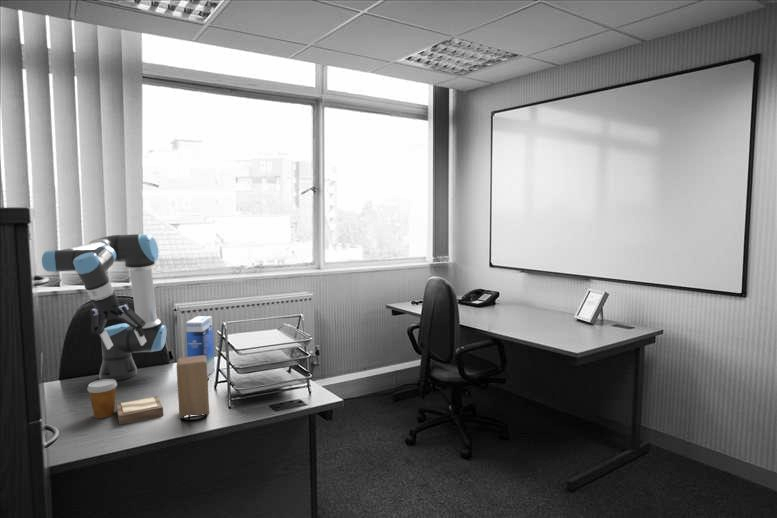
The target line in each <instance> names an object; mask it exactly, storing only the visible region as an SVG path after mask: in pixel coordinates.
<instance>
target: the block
mask: <svg viewBox="0 0 777 518" xmlns="http://www.w3.org/2000/svg"><path fill="white" fill-rule="evenodd" d="M208 377H209V376H208ZM208 377H207V360H206V356H204V355H201V356H192V357H187V356H186V357H185V356H183V357H179V358H178V359H177V361H176V378H177V380H176V381H177V399H178V415H179V418H180V419H182V418H181V417H182V416H186V415H188V414H191V415H202V414H204V413H205V414H206V415H205V416H208V415H209V413H210V403H209V402H210V401H209V380H208Z"/></svg>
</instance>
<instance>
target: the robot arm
mask: <svg viewBox="0 0 777 518" xmlns="http://www.w3.org/2000/svg"><path fill="white" fill-rule="evenodd" d="M158 259H159V247H158V244H157V241H156V239H155V238H154V236H153V235H151V234H143V233H136V234H112V235H108V236H102V237H100V238H96V239H93V240H90V241H89V243H86V244H81V245H77V246H73V247H69V248H64V249H59V250H58V249H57V250H55V249H53V250H46V251H44V253H42V256H41V265H42V267H43V269H44V270H45V272H55V273H57V272H76V273H77V275H78V277H79V278H80V281H81V282H82V284H83V286H84V288H85V291H86V293H87V294H88V297H89V298H90V300H91V303H92V304H93V306H94V307H93V308H92V309H91V310H90V311H89V314H90V320H91V321H90V322H91V323H90V332H91V334H96V335H98V337H99V339H100V341H101V343H100V344H101V353H102V354H101V355H102V363H101V366H100V369H99V370H100V371H99V373H98V374H99V376H98V377H99V378H98V379H99V380H103V379H114V380H115V381H116V382H117V381H122V380H126V379H129V378H133V377H134V376H136V375H137V374H138V367H137V366H136V364H135V363H136V362H135V361H134V359H133V355H132V354H134V353H153V352H158V351H162V350H163V348H164V347H165V344H166V340H167V333H168V332H167V326H166V325H165V324H162V320H161V319H160V318H158V316H157V308H156V306H157V305H156V300H155V299H156V298H155V289H154V280H153V279H154V278H153V266H155V264H156V263H155V261H157V260H158ZM115 262H118V263H121V262H122V263H123V262H124V265H125V268H127V269H128V270H129V273H130V281H131V282H130V283H131V289H132V297H133V307H134V310H133V309H132V308H131V307H130V305H129V304H128V303H125V304H123V305H120V304H119V299H118V296H117V294H116V292H115V291H114V288H113V286H112V284H111V282H110V280H109V278H108V275H107V274H106V272H107V271H108V270H109V269H110V268H111V267H112V266H113V265H114V263H115ZM99 315H100V316H101V317H99ZM99 318H100V321H99ZM109 320H118V321H122V322H123V323H118V324H114V325H111V326H107V327H106V325H107V322H108V321H109Z"/></svg>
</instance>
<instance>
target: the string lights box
mask: <svg viewBox="0 0 777 518" xmlns="http://www.w3.org/2000/svg"><path fill="white" fill-rule="evenodd" d="M213 329H214V328H213V316H212V315H207V316H206V315H204V316H203V315H202V316H201V315H198V316H195V317H193V318H192V319H190V320H188V321H186V322H185V334H186V354H187V355H186V357H192V356H201V355H204V356H206V360H207V376H208V375H209V374H210V375H211V374H212V373H213V372H214V371H215V370H216V369H215V368H216V367H215V352H214V349H215V347H214V331H213ZM210 375H209V376H210ZM209 376H208V377H209Z"/></svg>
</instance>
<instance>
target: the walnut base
mask: <svg viewBox="0 0 777 518" xmlns="http://www.w3.org/2000/svg"><path fill="white" fill-rule="evenodd" d="M115 405H116V406H115V409H116V411H115V412H116V415H117V418H118V422H119V423H118V424H119V425H125V424H130V423H134V422H138V421H142V420H147V419H148V420H149V419H152V417H153V418H157V417H162V416H164V407H163V405H162V403H161V400H160V399H159V396H158V395H155V396H149V397H144V398H139V399H133V400H128V401H124V402H123V401H122V402H118V403H115Z"/></svg>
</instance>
